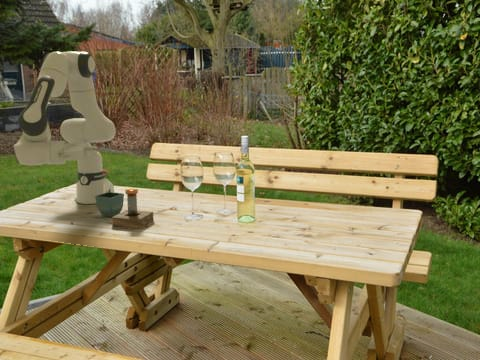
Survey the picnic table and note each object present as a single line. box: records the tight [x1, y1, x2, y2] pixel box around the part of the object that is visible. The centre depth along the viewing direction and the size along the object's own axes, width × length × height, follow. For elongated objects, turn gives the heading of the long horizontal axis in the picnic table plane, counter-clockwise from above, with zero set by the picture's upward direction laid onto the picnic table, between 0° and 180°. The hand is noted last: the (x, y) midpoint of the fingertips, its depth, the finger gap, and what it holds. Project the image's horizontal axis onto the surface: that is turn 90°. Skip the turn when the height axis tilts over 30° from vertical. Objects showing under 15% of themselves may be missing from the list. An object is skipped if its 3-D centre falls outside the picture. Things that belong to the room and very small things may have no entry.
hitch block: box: [111, 209, 154, 231], centre depth 215 cm, size 12×12×4 cm
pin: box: [124, 188, 139, 217], centre depth 214 cm, size 5×5×13 cm
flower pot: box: [95, 192, 125, 218], centre depth 228 cm, size 9×9×9 cm
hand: (97, 151), depth 207 cm, fingers open, 8 cm apart
